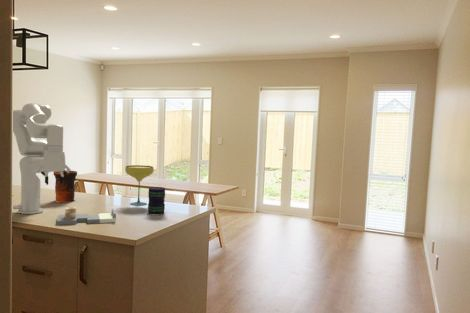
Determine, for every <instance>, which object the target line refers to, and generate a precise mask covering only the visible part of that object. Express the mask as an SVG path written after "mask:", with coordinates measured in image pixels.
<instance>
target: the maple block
mask: <svg viewBox="0 0 470 313" xmlns="http://www.w3.org/2000/svg"><path fill="white" fill-rule="evenodd" d="M64 211H65V213H64V215H65V219H69V218H76V214H77V207H76V206H66V207H65V210H64Z"/></svg>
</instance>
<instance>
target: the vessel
mask: <svg viewBox="0 0 470 313" xmlns="http://www.w3.org/2000/svg"><path fill="white" fill-rule="evenodd" d="M65 171H67V169H65V170H64V171H63V173H64V172H65ZM53 176H54V179H55V184H54V185H55V186H54V191H55V192H54V193H55V200H54V202H56V203H59V202H67V203H73V202H76V201H75V200H76V199H75V194H76V193H75V192H76V191H75V190H76V182H75V181H77V180H76V178H77V176H78V171H76V170H70V171H69V172H68V173H67V174H66V175H65V176H64V177H63V183H62V185H60V177H61V174H60V172H53Z"/></svg>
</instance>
